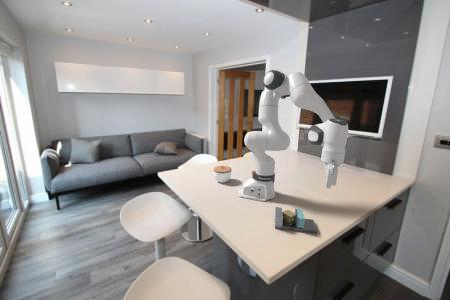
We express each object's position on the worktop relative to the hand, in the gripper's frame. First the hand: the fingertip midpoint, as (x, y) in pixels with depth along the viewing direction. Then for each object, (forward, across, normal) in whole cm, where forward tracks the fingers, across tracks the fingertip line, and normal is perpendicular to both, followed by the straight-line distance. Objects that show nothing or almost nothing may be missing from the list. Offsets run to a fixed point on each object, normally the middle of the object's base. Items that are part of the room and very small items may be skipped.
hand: (328, 186), depth 97 cm
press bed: (+20, -5, +12) cm, 24 cm away
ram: (+18, -5, +10) cm, 21 cm away
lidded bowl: (+21, +31, +64) cm, 75 cm away
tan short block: (+18, -6, +15) cm, 24 cm away
